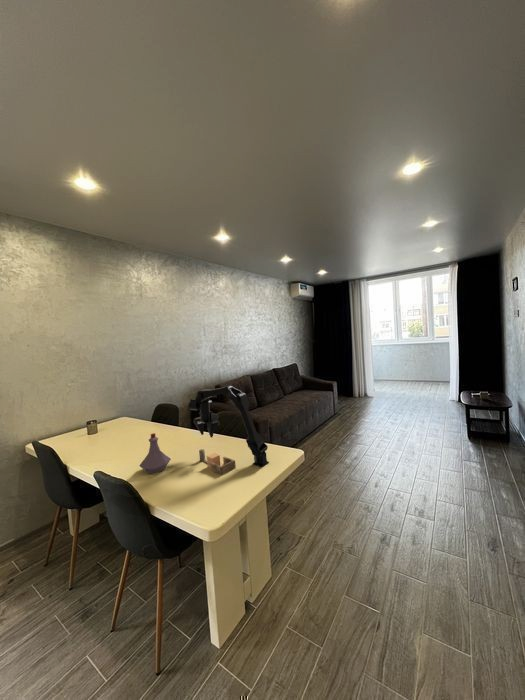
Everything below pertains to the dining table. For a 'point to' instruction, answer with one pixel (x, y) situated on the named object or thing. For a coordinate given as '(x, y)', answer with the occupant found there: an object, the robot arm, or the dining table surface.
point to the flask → (154, 458)
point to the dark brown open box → (227, 466)
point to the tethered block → (209, 458)
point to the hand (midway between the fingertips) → (207, 436)
